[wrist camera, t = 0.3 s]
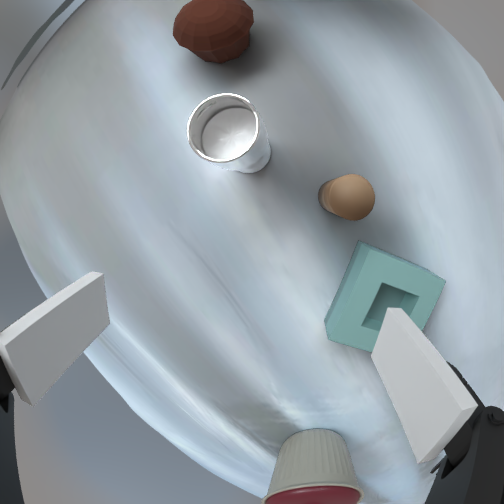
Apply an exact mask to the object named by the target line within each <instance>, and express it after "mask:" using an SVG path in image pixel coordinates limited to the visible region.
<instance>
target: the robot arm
mask: <svg viewBox="0 0 504 504" xmlns="http://www.w3.org/2000/svg"><path fill="white" fill-rule="evenodd" d="M109 324H110V320H109V314H108V307H107V299H106V291H105V281H104V274H103V273H97V272H92V271H91V272H90V273H88V274H87V275H85V276H83V277H82V278H80V279H78V280H77V281H75V282H74V283H72V284H71V285H69V286H67V287H66V288H64V289H63V290H61V291H60V292H58V293H57V294H55V295H54V296H52V297H51V298H49V299H48V300H46V301H45V302H43V303H42V304H40V305H39V306H37V307H36V308H34V309H33V310H31V311H30V312H29V313H27V314H25V315H23V316H22V317H21V318H19V319H18V320H17V321H15V322H14V323H12V325H9V326H8V327H7V328H5V329H4V330H3V331H1V332H0V504H24V500H23V495H22V491H21V485H20V480H19V474H18V467H17V459H16V449H15V437H14V396H13V394H12V392H11V391H12V390H13V389H14V388H16V390H17V392H18V394H19V396H20V398H21V399H22V400H23V401H25V402H27V403H28V404H29V405H31V406H33V407H34V406H35V405H36V404H37V403H38V402H39V400H40V399H41V398H42V397H43V396H44V394H45V393H46V392H47V391H48V390H49V389H50V387H52V385H53V384H54V383H55V382H56V381H57V380H58V379H59V377H60V376H61V375H62V374H63V373H64V372H65V371H66V370H67V369H68V367H70V365H71V364H72V363H73V362H74V361H75V360H76V359H77V358H78V357H79V356H80V354H81V353H82V352H83V351H84V350H85V349H86V348H87V347H88V346H89V345H90V344H91V343H92V342H93V341H94V340H95V339H96V338H97V337H98V336H99V335H100V334H101V333H102V332H103V331H104V329H105V328H106V327H107V326H108V325H109ZM371 358H372V361H373V363H374V365H375V367H376V369H377V371H378V373H379V375H380V377H381V379H382V381H383V384H384V386H385V388H386V390H387V392H388V394H389V397H390V399H391V401H392V403H393V406H394V408H395V410H396V412H397V415H398V417H399V419H400V422H401V424H402V426H403V429H404V431H405V433H406V436H407V438H408V441H409V443H410V446H411V448H412V451H413V453H414V456H415V458H416V461H417V464H420V463H423V462H427V461H430V460H433V459H435V458H436V457H437V456H438V455H439V454H440V453H441V451H442V450H443V449H444V450H445V452H446V454H447V455H446V456H445V457H444V458H443V459H442V460H441V461H440V462H439V463H438V464H437V465H436V466H435V467H434V468H433V469H432V471H431V472H430V473H434V472H435V471H436V470H437V469H438V468H439V470H438V473H437V474H436V478H435V480H434V483H433V485H432V488H431V490H430V493H429V495H428V497H427V499H426V502H425V504H504V411H502V410H501V409H500V408H498V407H495V406H488V407H485V406H484V405H483V403H482V402H481V400H480V399H479V398H478V396H477V395H476V393H475V392H474V391H473V389H472V388H471V387H470V385H469V384H468V385H467V381H466V380H465V379H464V378H462V375H461V374H460V372H459V371H458V370H457V368H455V367H454V366H453V365H451V364H450V363H449V362H447V361H445V360H444V358H443V357H442V356H441V355H440V353H439V352H438V351H437V350H436V348H435V347H434V346H433V345H432V344H431V342H430V341H429V340H428V339H427V337H426V336H425V335H424V334H423V333H422V331H421V330H420V329H419V328H418V327H417V326H416V324H415V323H414V322H413V321H412V320H411V319H410V317H409V316H408V315H407V314H406V313H405V312H404V311H403V309H402V308H387V311H386V314H385V317H384V320H383V324H382V327H381V329H380V332H379V335H378V338H377V341H376V344H375V346H374V349H373V352H372V354H371Z"/></svg>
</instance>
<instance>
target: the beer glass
mask: <svg viewBox="0 0 504 504" xmlns="http://www.w3.org/2000/svg"><path fill="white" fill-rule="evenodd" d="M187 137H188V141H189V144H190V146H191V148H192V149H193V151H194V152H195V153H196V154H197V155H198V156H199V157H201V158H202V159H204V160H206V161H208V162H209V163H211V164H212V165H215V166H217V167H219V168H222V169H226V170H238V171H240V172H243V173H254V172H257V171H259V170H261V169H262V168H264V167H265V166H266V164H267V163H268V161H269V159H270V155H271V148H270V144H269V142H268V133H267V129H266V125H265V123H264V121H263V119H262V117H261V115H260V114H259V113H258V111H257V110H256V108H255V107H254V106H253V104H252V103H251V102H250V101H248V100H247V99H246V98H244V97H242V96H239V95H236V94H231V93H222V94H217V95H214V96H211V97H209V98H207V99H205V100H204V101H202V102H201V103H200V104H199V105H198V106H197V107H196V108H195V109H194V111H193V112H192V114H191V116H190V118H189V121H188V125H187Z"/></svg>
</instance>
